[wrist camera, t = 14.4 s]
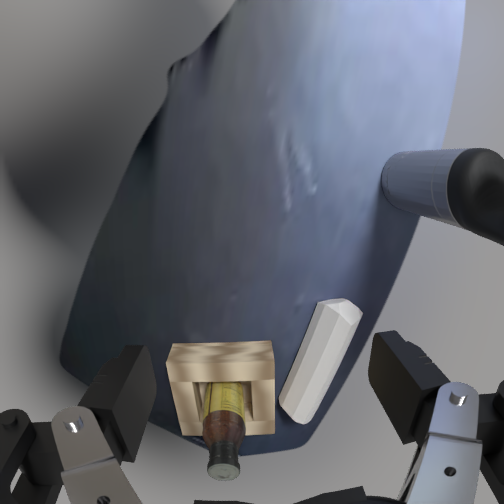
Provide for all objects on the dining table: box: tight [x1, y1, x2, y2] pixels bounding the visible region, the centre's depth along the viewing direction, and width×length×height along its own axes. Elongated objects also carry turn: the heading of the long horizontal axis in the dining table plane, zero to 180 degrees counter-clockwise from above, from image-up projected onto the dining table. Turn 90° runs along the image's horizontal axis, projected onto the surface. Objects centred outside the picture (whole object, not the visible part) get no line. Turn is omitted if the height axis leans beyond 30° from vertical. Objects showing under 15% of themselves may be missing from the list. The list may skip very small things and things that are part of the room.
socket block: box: [166, 340, 275, 436], centre depth 49 cm, size 16×16×6 cm
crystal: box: [279, 298, 363, 424], centre depth 50 cm, size 7×7×24 cm
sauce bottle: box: [202, 381, 246, 481], centre depth 42 cm, size 6×6×20 cm
